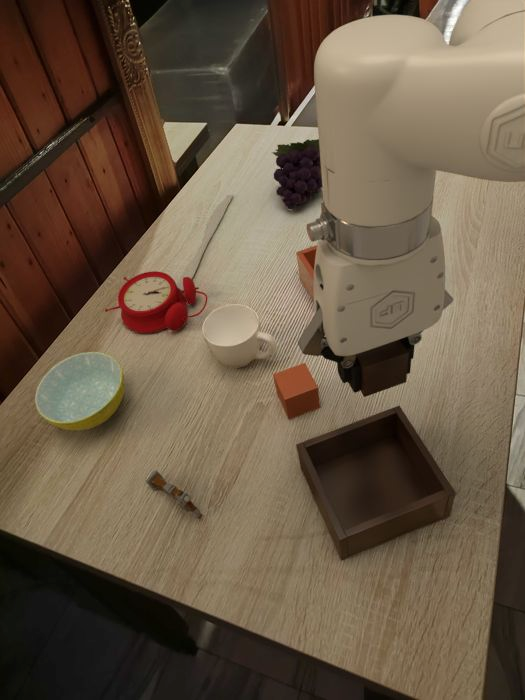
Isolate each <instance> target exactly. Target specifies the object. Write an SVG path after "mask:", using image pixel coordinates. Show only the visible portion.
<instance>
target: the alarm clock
mask: <svg viewBox="0 0 525 700" xmlns="http://www.w3.org/2000/svg"><path fill="white" fill-rule="evenodd" d="M123 280H124V281H126V282H125V283H124V284H123V285H122V287H121V288H120V290H119V292H118V294H117V304H118V306H114V307H111V308H108V309H107V308H106V309H105V310H104V311H105V313H108V312H109V311H113V310H117V309H120V312H121V313H120V317H121V318H120V319H121V320H122V323H123V325H124V326H125V327H126V328H127V329H128V330H130V331H132V332H135V333H138V334H152V333H158V332H160V331H163V330H166V329H168V330H170V331H174V332H175V331H179V330H181V329H182V328H183V327H184V326H185V325H186V323H187V321H188V319H189V318H194V317H197V316H199V315H200V314H201V313H202V312H203V311H204V310H205V309H206V307H207V303H208V295H207V294H206V293H205V292H203V291H199V289H200V288H199V287H198V286H195V282H194V280H193V278H192V279H191V278H189V277H184V278H183V288H184V290H183V291H181V290H180V289H179V288H178V287H177V283H176V281H175V279H174V278H173V277H172V276H170V275H169V274H168V273H166V272H163V271H156V270H154V271H153V270H152V271H146V272H142V273H139V274H137V275H135V276H133V277H131V278H130V279H127V277H126V276H124V277H123ZM197 294H201V295H203V296H205V302H204V305H203V307H202V309H201V310H200V311H199V312H197V313H195V314H192V315H189V311H188V308H187V306H188V305H192V304H194V303H195V302H196V301H197Z"/></svg>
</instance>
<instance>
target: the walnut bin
mask: <svg viewBox="0 0 525 700" xmlns="http://www.w3.org/2000/svg"><path fill="white" fill-rule="evenodd" d="M295 447H296V451H297V456H298V461H299V466H300V470H301V473H302V475H303V477H304V480H305V481H306V484H307V486H308V488H309V491H310V493H311V495H312V498H313V500H314V502H315V504H316V507H317V509H318V511H319V513H320V516H321V518H322V520H323V522H324V525H325V528H326V529H327V532H328V534H329V536H330V538H331V541H332V544H333V546H334V547H335V550H336V552H337V554H338V557H339V559H340V561H345V560H347V559H350V558H352V557H353V556H357V555H359V554H361V553H363V552H366V551H369V550H371V549H373V548H376V547H379V546H381V545H383V544H385V543H389V542H390V541H393V540H396V539H398V538H400V537H402V536H403V537H404V536H406V535H407V534H411V533H412V532H416V531H417V530H420V529H423V528H425V527H428V526H430V525H432V524H434V523H438V522H439V521H442V520H445V519H447V518H450V517H451V513H452V509H453V506H454V502H455V499H456V494H457V492H456V491H455V489H454V488H453V486H452V484H451V483H450V481H449V479H448V478H447V477H446V474H445V473H444V472H443V470H442V469H441V467H440V466H439V464H438V463H437V461H436V460H435V457H434V456H433V454H431V452H430V450H429V448H428V447H427V446H426V444H425V442H424V441H423V439H422V437H421V436H420V435H419V433H418V432H417V430H416V428H415V426H414V425H413V423H412V422H411V421H410V419H409V418H408V416H407V415H406V413H405V411H404V410H403V409H402V407H401V405H397V406H394V407H391V408H388V409H386V410H383V411H380V412H377V413H375V414H373V415H370V416H367V417H365V418H361V419H360V420H357V421H354V422H352V423H349V424H346V425H344V426H340V427H338V428H336V429H333V430H330V431H327V432H325V433H322V434H320V435H317V436H314V437H312V438H309V439H307V440H304V441H301V442H299V443H296V444H295Z"/></svg>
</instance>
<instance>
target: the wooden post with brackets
mask: <svg viewBox="0 0 525 700" xmlns="http://www.w3.org/2000/svg"><path fill="white" fill-rule="evenodd" d="M145 482H146V483H147V485H148V486H149V487H150V489H152V491H156V490H157V489H160V490H163V491H164V492H165V493H166V494H169V496H171V497H172V498H176V499H177V500H178V501H179V503H178V506H179V507H180V508H181V509H182V510H184V511H185V512H186V513H189V512H190V513H191V514H192V515H194V516H195V518H196V519H198V520H201V519H202V517H203V516H204V514H203V513H202V512H201V509H199V508H198V506H196V505H195V504H194V502H193V501H192V500H191V499H192V497H191V495H190V494H188V492H186V491H184V490H182V489H179V487H177V486H176V485H175V484H172V483H171V482H169V481H168V482H167V481H166V480H165V478H164V477H163V476H162V475H161V473H160V472H159V470H157V469H155V470H154V471H153V472H152V473H151V474H150V475H149V476H148V477H147V478H146V479H145Z"/></svg>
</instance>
